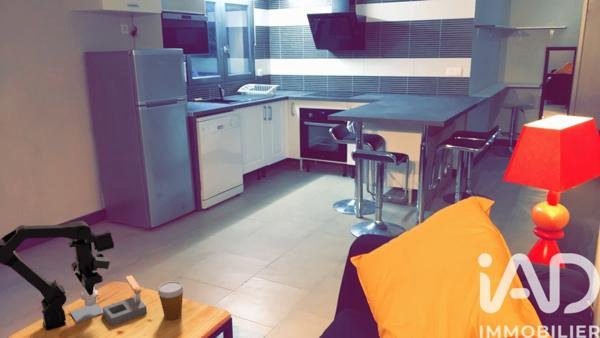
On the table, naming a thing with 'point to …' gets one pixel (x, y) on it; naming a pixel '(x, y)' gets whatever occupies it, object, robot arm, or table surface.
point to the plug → (89, 297)
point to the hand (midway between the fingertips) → (89, 292)
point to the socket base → (124, 310)
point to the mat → (86, 313)
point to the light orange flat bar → (133, 284)
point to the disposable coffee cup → (171, 299)
